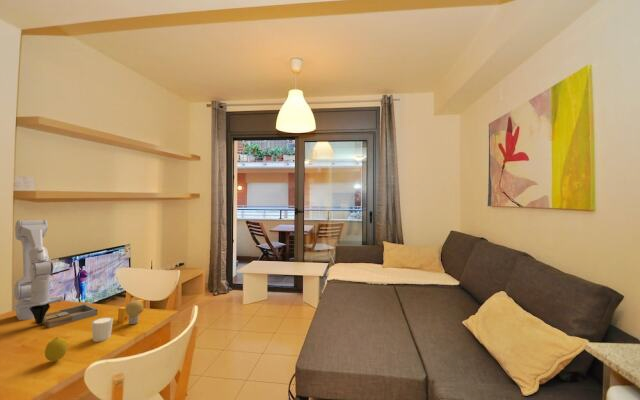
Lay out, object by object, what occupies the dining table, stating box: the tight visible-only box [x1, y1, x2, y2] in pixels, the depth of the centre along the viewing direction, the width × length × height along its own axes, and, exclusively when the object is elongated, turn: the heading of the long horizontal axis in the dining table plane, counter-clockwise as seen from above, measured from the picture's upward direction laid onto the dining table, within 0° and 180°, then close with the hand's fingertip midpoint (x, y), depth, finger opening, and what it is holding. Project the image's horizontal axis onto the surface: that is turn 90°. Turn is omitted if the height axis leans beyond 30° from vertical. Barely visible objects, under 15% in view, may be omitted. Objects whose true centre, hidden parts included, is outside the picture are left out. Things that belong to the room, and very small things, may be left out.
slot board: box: [41, 310, 96, 329], centre depth 127 cm, size 12×17×3 cm
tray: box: [59, 303, 98, 322], centre depth 131 cm, size 12×10×2 cm
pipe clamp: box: [117, 299, 145, 324], centre depth 132 cm, size 12×4×6 cm, turn 172°
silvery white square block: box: [55, 312, 69, 318], centre depth 125 cm, size 4×4×2 cm
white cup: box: [91, 316, 114, 343], centre depth 112 cm, size 7×7×7 cm
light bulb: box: [125, 299, 143, 325], centre depth 126 cm, size 6×6×10 cm
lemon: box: [44, 337, 68, 363], centre depth 95 cm, size 6×6×8 cm
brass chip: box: [43, 315, 58, 324], centre depth 122 cm, size 4×4×2 cm
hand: (38, 323), depth 119 cm, fingers closed
